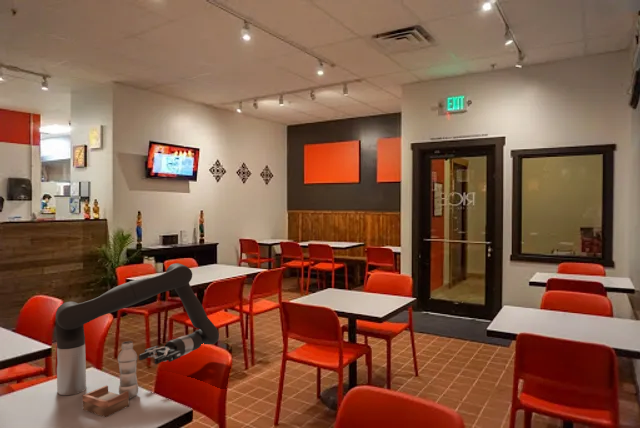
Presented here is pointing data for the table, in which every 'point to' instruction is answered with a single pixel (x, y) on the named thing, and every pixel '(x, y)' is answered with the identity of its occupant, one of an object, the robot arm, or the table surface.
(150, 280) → the robot arm
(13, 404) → the table surface
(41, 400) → the table surface
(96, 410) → the dock
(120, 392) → the plastic bottle
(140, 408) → the table surface
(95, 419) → the table surface
